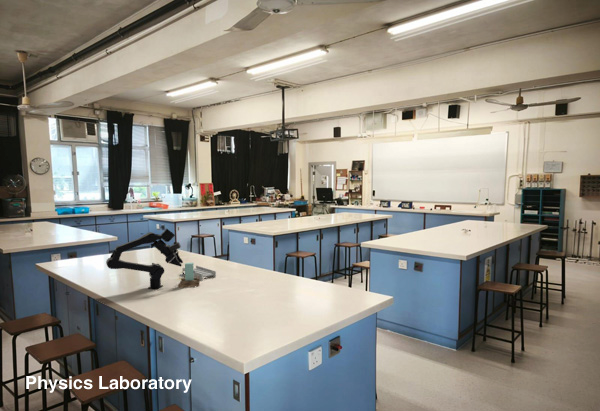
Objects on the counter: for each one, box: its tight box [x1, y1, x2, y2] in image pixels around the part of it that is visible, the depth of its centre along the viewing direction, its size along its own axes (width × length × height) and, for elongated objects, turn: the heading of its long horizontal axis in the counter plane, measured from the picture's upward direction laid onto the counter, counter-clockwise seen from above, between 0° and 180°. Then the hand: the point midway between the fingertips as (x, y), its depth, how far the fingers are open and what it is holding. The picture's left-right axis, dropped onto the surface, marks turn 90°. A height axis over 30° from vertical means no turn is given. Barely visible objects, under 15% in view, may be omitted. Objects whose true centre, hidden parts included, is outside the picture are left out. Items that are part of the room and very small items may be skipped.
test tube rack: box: [182, 265, 217, 281], centre depth 243 cm, size 25×4×13 cm
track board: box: [178, 276, 201, 289], centre depth 220 cm, size 12×10×4 cm
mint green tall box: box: [184, 262, 195, 281], centre depth 220 cm, size 6×4×12 cm, turn 105°
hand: (182, 264), depth 218 cm, fingers open, 9 cm apart
